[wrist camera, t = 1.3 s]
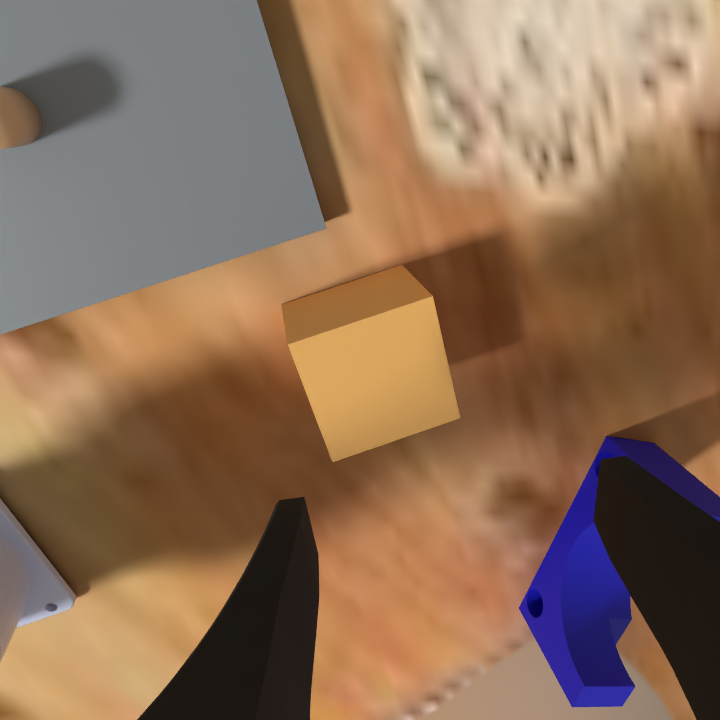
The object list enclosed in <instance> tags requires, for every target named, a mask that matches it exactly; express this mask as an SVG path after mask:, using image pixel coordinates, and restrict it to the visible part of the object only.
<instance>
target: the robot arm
mask: <svg viewBox="0 0 720 720" xmlns="http://www.w3.org/2000/svg"><path fill="white" fill-rule="evenodd" d="M593 521H594V523H595V526H596V528H597V531H598V533H599V535H600V538H601V540H602V543H603V545H604V547H605V549H606V552H607V554H608V556H609V558H610V561H611V562H612V564H613V566H614V568H615V569H616V571H617V573H618V575H619V576H620V578H621V580H622V582H623V583H624V585H625V587H626V588H627V590H628V592H629V594H630V595H631V597H632V599H633V600H634V602H635V604H636V605H637V607H638V609H639V611H640V612H641V614H642V616H643V617H644V619H645V621H646V622H647V624H648V626H649V628H650V629H651V631H652V633H653V634H654V636H655V638H656V639H657V641H658V643H659V645H660V646H661V648H662V650H663V652H664V653H665V655H666V657H667V659H668V661H669V663H670V665H671V666H672V668H673V670H674V672H675V674H676V677H677V679H678V681H679V683H680V685H681V687H682V689H683V691H684V694H685V696H686V698H687V700H688V702H689V704H690V706H691V709H692V711H693V713H694V715H695V717H696V719H697V720H720V522H719V521H718V520H716V519H715V518H713V517H712V516H710V515H709V514H707V513H706V512H704V511H703V510H702V509H700V508H699V507H697V506H696V505H694V504H693V503H691V502H690V501H689V500H687V499H686V498H684V497H683V496H681V495H680V494H679V493H677V492H676V491H674V490H673V489H672V488H670V487H669V486H668V485H666V484H665V483H663V482H662V481H661V480H659V479H658V478H656V477H655V476H654V475H652V474H651V473H650V472H648V471H647V470H646V469H644V468H643V467H641V466H640V465H639V464H637V463H636V462H634V461H633V460H632V459H630V458H629V457H627V456H620V457H612V458H604V459H601V460H600V468H599V476H598V485H597V493H596V502H595V510H594V519H593ZM75 600H76V596H75V594H74V592H73V591H72V590H71V588H70V587H69V586H68V585H67V583H66V582H65V581H64V579H63V578H62V577H61V576H60V574H59V573H58V572H57V570H56V569H55V568H54V567H53V565H52V564H51V563H50V562H49V560H48V559H47V558H46V556H45V555H44V554H43V553H42V551H41V550H40V549H39V547H38V546H37V545H36V544H35V542H34V541H33V540H32V538H31V537H30V536H29V535H28V533H27V532H26V531H25V529H24V528H23V527H22V526H21V524H20V523H19V522H18V521H17V519H16V518H15V517H14V515H13V514H12V513H11V512H10V510H9V509H8V508H7V506H6V505H5V504H4V503H3V501H2V500H1V499H0V662H1V660H2V657H3V655H4V653H5V651H6V649H7V646H8V644H9V642H10V640H11V638H12V635H13V633H14V631H15V629H16V628H17V627H20V626H23V625H26V624H29V623H32V622H35V621H37V620H40V619H43V618H46V617H49V616H52V615H55V614H57V613H60V612H63V611H66V610H68V609H70V608H72V607H73V605H74V603H75ZM50 603H53V604H54V605H53V604H50ZM318 605H319V561H318V552H317V547H316V543H315V539H314V535H313V531H312V527H311V522H310V518H309V514H308V510H307V506H306V502H305V498H304V497H300V498H292V499H285V500H279V502H278V503H277V504H276V506H275V508H274V511H273V513H272V516H271V518H270V520H269V523H268V525H267V527H266V529H265V531H264V534H263V536H262V538H261V540H260V542H259V544H258V546H257V548H256V550H255V552H254V554H253V556H252V558H251V560H250V561H249V563H248V565H247V567H246V569H245V571H244V573H243V575H242V577H241V578H240V580H239V582H238V583H237V585H236V587H235V589H234V590H233V592H232V594H231V595H230V597H229V599H228V600H227V602H226V604H225V605H224V607H223V609H222V610H221V612H220V613H219V615H218V616H217V618H216V620H215V621H214V623H213V624H212V626H211V627H210V629H209V630H208V632H207V633H206V634H205V636H204V637H203V639H202V640H201V642H200V643H199V644H198V646H197V647H196V649H195V650H194V651H193V653H192V654H191V655H190V656H189V658H188V659H187V660H186V662H185V663H184V664H183V666H182V667H181V668H180V670H179V671H178V672H177V674H176V675H175V676H174V677H173V679H172V680H171V681H170V682H169V684H168V685H167V686H166V687H165V688H164V690H163V691H162V692H161V693H160V694H159V696H158V697H157V698H156V699H155V700H154V701H153V702H152V704H151V705H150V706H149V707H148V708H147V709H146V710H145V711H144V713H143V714H142V715H141V716H140V717H139V718H138V719H137V720H310V700H311V685H312V674H313V663H314V651H315V640H316V629H317V617H318Z"/></svg>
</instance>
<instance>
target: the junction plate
mask: <svg viewBox="0 0 720 720" xmlns="http://www.w3.org/2000/svg"><path fill="white" fill-rule="evenodd" d="M323 229H326V225H325V222H324V218H323V215H322V212H321V209H320V205H319V202H318V199H317V196H316V192H315V189H314V186H313V182H312V179H311V176H310V173H309V169H308V166H307V163H306V160H305V156H304V153H303V150H302V147H301V143H300V140H299V137H298V133H297V130H296V127H295V124H294V120H293V117H292V114H291V111H290V107H289V104H288V101H287V98H286V94H285V91H284V88H283V84H282V81H281V78H280V75H279V71H278V68H277V65H276V62H275V58H274V55H273V52H272V49H271V45H270V42H269V39H268V36H267V32H266V29H265V26H264V22H263V19H262V16H261V13H260V9H259V6H258V3H257V0H0V334H3V333H7V332H10V331H13V330H16V329H19V328H22V327H25V326H28V325H31V324H34V323H37V322H40V321H43V320H46V319H50V318H53V317H56V316H59V315H62V314H65V313H68V312H71V311H74V310H77V309H80V308H83V307H86V306H89V305H93V304H96V303H99V302H102V301H105V300H108V299H111V298H114V297H117V296H120V295H123V294H126V293H129V292H132V291H136V290H139V289H142V288H145V287H148V286H151V285H154V284H157V283H160V282H163V281H166V280H169V279H172V278H175V277H179V276H182V275H185V274H188V273H191V272H194V271H197V270H200V269H203V268H206V267H209V266H212V265H215V264H218V263H222V262H225V261H228V260H231V259H234V258H237V257H240V256H243V255H246V254H249V253H252V252H255V251H258V250H262V249H265V248H268V247H271V246H274V245H277V244H280V243H283V242H286V241H289V240H292V239H295V238H298V237H301V236H305V235H308V234H311V233H314V232H317V231H320V230H323Z"/></svg>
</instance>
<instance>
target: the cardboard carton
mask: <svg viewBox="0 0 720 720" xmlns="http://www.w3.org/2000/svg"><path fill="white" fill-rule="evenodd" d="M282 311H283V318H284V324H285V330H286V337H287V343H288V347H289V349H290V352H291V354H292V357H293V360H294V362H295V365H296V368H297V370H298V373H299V376H300V378H301V381H302V383H303V386H304V389H305V391H306V394H307V397H308V399H309V402H310V405H311V407H312V410H313V412H314V415H315V418H316V420H317V423H318V426H319V428H320V431H321V434H322V436H323V439H324V441H325V444H326V447H327V449H328V452H329V455H330V457H331V460H332V462H335V461H338V460H341V459H344V458H347V457H350V456H352V455H355V454H358V453H361V452H364V451H367V450H370V449H373V448H376V447H378V446H381V445H384V444H387V443H390V442H393V441H396V440H399V439H402V438H404V437H407V436H410V435H413V434H416V433H419V432H422V431H425V430H428V429H430V428H433V427H436V426H439V425H442V424H445V423H448V422H451V421H454V420H456V419H459V418H460V414H459V410H458V405H457V401H456V396H455V392H454V388H453V383H452V379H451V374H450V370H449V365H448V361H447V357H446V352H445V348H444V343H443V339H442V334H441V330H440V326H439V321H438V317H437V312H436V308H435V303H434V299H433V296H432V295H431V294H430V293H429V292H428V291H427V290H426V289H425V288H424V287H423V286H422V285H421V284H420V282H419V281H418V280H417V279H416V278H415V277H414V276H413V275H412V274H411V273H410V272H409V271H408V270H407V269H406V268H405V267H404V266H403V265H400V266H396V267H393V268H390V269H387V270H384V271H381V272H378V273H375V274H372V275H369V276H366V277H363V278H360V279H357V280H354V281H351V282H348V283H345V284H342V285H339V286H336V287H333V288H330V289H327V290H324V291H321V292H318V293H315V294H312V295H309V296H306V297H303V298H300V299H297V300H294V301H291V302H288V303H285V304H282Z"/></svg>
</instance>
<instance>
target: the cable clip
mask: <svg viewBox="0 0 720 720" xmlns="http://www.w3.org/2000/svg"><path fill="white" fill-rule="evenodd" d="M620 456H627V457H629V458H630V459H632V460H633V461H634V462H636V463H637V464H639V465H640V466H641V467H643V468H644V469H646V470H647V471H648V472H650V473H651V474H652V475H654V476H655V477H656V478H658V479H659V480H661V481H662V482H663V483H665V484H666V485H668V486H669V487H670V488H672V489H673V490H674V491H676V492H677V493H679V494H680V495H681V496H683V497H684V498H686V499H687V500H689V501H690V502H691V503H693V504H694V505H696V506H697V507H699V508H700V509H702V510H703V511H704V512H706V513H707V514H709V515H710V516H712V517H713V518H715V519H716V520H718V521H719V522H720V497H719V496H718V495H716V494H715V493H714V492H713V491H712V490H710V489H709V488H708V487H707V486H706V485H704V484H703V483H702V482H701V481H699V480H698V479H697V478H696V477H695V476H693V475H692V474H691V473H690V472H689V471H687V470H686V469H685V468H684V467H683V466H681V465H680V464H679V463H678V462H676V461H675V460H674V459H673V458H672V457H670V456H669V455H668V454H667V453H666V452H664V451H663V450H662V449H661V448H660V447H658V446H657V445H656V444H655V443H651V442H644V441H638V440H631V439H624V438H618V437H611V436H606V438H605V440H604V442H603V444H602V446H601V448H600V450H599V452H598V454H597V456H596V458H595V460H594V462H593V464H592V466H591V467H590V469H589V471H588V473H587V475H586V477H585V479H584V481H583V483H582V485H581V487H580V489H579V491H578V493H577V495H576V497H575V499H574V501H573V503H572V505H571V507H570V509H569V511H568V513H567V515H566V517H565V519H564V520H563V522H562V524H561V526H560V528H559V530H558V532H557V534H556V536H555V538H554V540H553V542H552V544H551V546H550V548H549V550H548V552H547V554H546V556H545V558H544V560H543V562H542V564H541V566H540V568H539V570H538V572H537V573H536V575H535V577H534V579H533V581H532V583H531V585H530V587H529V589H528V591H527V593H526V595H525V597H524V599H523V601H522V603H521V605H520V607H519V609H520V611H521V613H522V615H523V617H524V619H525V620H526V622H527V624H528V626H529V628H530V630H531V632H532V633H533V635H534V637H535V639H536V641H537V643H538V645H539V646H540V648H541V650H542V652H543V654H544V656H545V657H546V659H547V661H548V663H549V665H550V667H551V669H552V671H553V672H554V674H555V676H556V678H557V680H558V682H559V684H560V685H561V687H562V689H563V691H564V693H565V695H566V697H567V698H568V700H569V702H570V704H571V706H572V707H612V706H623V704H624V703H625V701H626V700H627V698H628V697H629V695H630V694H631V692H632V691H633V689H634V688H635V685H634V683H633V682H632V680H631V678H630V677H629V675H628V673H627V671H626V669H625V667H624V665H623V663H622V661H621V659H620V656H619V654H618V651H617V648H616V644H617V642H618V640H619V639H620V637H621V636H622V634H623V632H624V631H625V629H626V628H627V626H628V624H629V623H630V621H631V620H632V617H631V608H630V594H629V592H628V590H627V588H626V587H625V585H624V583H623V582H622V580H621V578H620V576H619V575H618V573H617V571H616V569H615V568H614V566H613V564H612V562H611V561H610V558H609V556H608V554H607V552H606V549H605V547H604V545H603V543H602V540H601V538H600V535H599V533H598V531H597V528H596V526H595V523H594V521H593V519H594V510H595V502H596V493H597V485H598V476H599V468H600V460H601V459H604V458H612V457H620Z"/></svg>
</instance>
